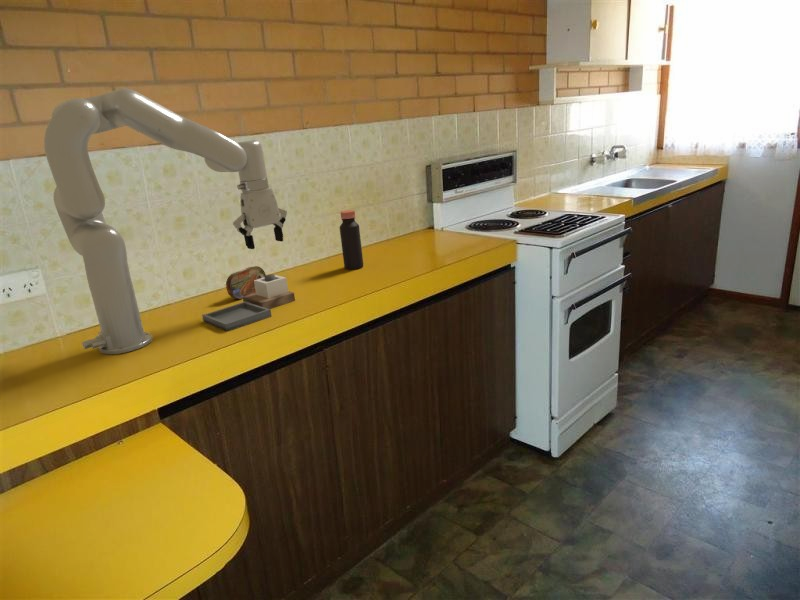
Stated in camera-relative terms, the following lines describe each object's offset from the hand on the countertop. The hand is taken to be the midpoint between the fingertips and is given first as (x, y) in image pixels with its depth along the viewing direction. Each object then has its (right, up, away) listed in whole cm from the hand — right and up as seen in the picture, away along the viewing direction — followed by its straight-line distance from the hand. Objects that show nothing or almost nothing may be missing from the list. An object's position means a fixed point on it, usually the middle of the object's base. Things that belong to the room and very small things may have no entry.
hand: (265, 244), depth 168 cm
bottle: (+23, -5, +36) cm, 43 cm away
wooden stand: (0, -17, +4) cm, 17 cm away
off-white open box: (+1, -14, +4) cm, 15 cm away
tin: (-9, -15, +15) cm, 23 cm away
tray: (-6, -21, -8) cm, 24 cm away
